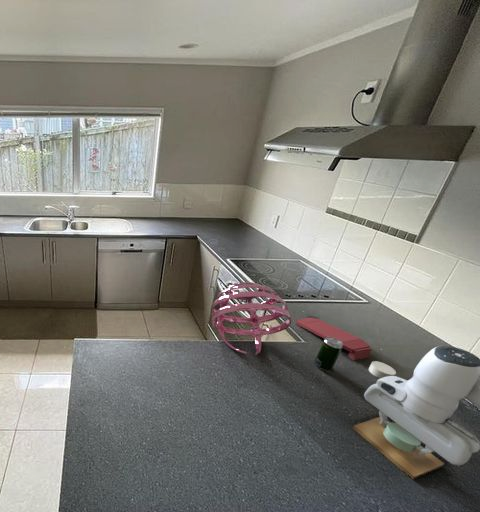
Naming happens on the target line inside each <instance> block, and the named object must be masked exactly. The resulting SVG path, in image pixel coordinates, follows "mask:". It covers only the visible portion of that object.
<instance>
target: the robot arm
mask: <svg viewBox="0 0 480 512" xmlns="http://www.w3.org/2000/svg"><path fill="white" fill-rule="evenodd" d="M363 397H364V399H365V400H366V401H367V402H368V403H369V404H370V405H371V406H373V407H375V408H376V409H377V410H378V415H379V416H378V417H380V420H381V421H380V422H379V424H380V425H381V426H382V427H384V428H386V426H387V424H388V423H390V421H389V419H388V418H390V419H391V420H392V421H393V422H394V423H397V424H399V425H400V426H401V427H403V428H404V429H405V430H407V431H408V432H410V433H411V434H412V435H414V436H415V437H416V438H418V439H419V440H420V441H421V443H422V444H424V445H425V446H422V445H421V444H420V446H419V447H416V448H415V450H413V451H414V452H415V453H417V454H418V455H419V456H423V455H425V453H431V454H433V453H434V452H435V453H436V454H438V455H439V456H440V457H442V458H443V459H444V460H446V461H447V462H448V463H449V464H450V465H453V466H462V465H465V464H466V463H468V462H469V460H470V459H471V457H472V455H473V454H476V453H478V452H479V451H480V440H479V439H478V438H477V435H475V434H474V433H473V432H471V431H470V430H468V429H466V428H464V427H463V426H462V425H460V424H458V423H457V422H456V421H454V420H453V419H451V417H452V416H453V415H454V413H455V412H456V410H457V409H458V408H459V404H460V401H461V400H462V399H464V400H466V401H468V403H470V404H472V405H473V406H474V407H476V408H477V409H479V410H480V357H479V356H477V355H475V354H474V353H472V352H470V351H467V350H466V349H463V348H459V347H455V346H448V345H439V346H436V347H434V348H432V349H431V350H429V351H428V352H427V353H426V354H425V355H424V356H423V357H422V358H421V359H420V361H418V363H417V364H416V366H415V368H414V370H413V375H412V376H411V378H410V379H408V380H407V379H404V378H402V377H399V376H397V375H395V376H387V377H383V378H381V379H380V378H378V379H377V380H376V383H374V384H371V385H370V386H369V387H368V388H367V389H366V391H365V392H364V393H363Z"/></svg>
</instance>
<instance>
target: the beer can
mask: <svg viewBox="0 0 480 512" xmlns="http://www.w3.org/2000/svg"><path fill="white" fill-rule="evenodd" d="M342 345H343V343H342V342H341V341H340V340H338V339H336V338H333V337H326V339H324V338H323V341H322V344H321V345H320V349H319V350H318V353H317V355H316V357H315V359H314V365H315V367H316V368H318V369H319V370H321V371H323V372H330V371H332V370H333V368H334V366H335V365H336V362H337V360H338V358H339V356H340V353H341V351H342V349H343V348H342V347H343V346H342Z"/></svg>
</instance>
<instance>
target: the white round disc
mask: <svg viewBox="0 0 480 512" xmlns="http://www.w3.org/2000/svg"><path fill="white" fill-rule="evenodd" d="M368 372H369V373H370V374H371V375H373V376H374V377H376V378H377V379H381V378H383V377H387V376H396V374H397V372H396V370H395V369H394V367H392V366H390V365H388V364H386V363H384V362H381V361H378V360H377V361H376V360H373V361H371V363H370V365H369V367H368Z"/></svg>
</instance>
